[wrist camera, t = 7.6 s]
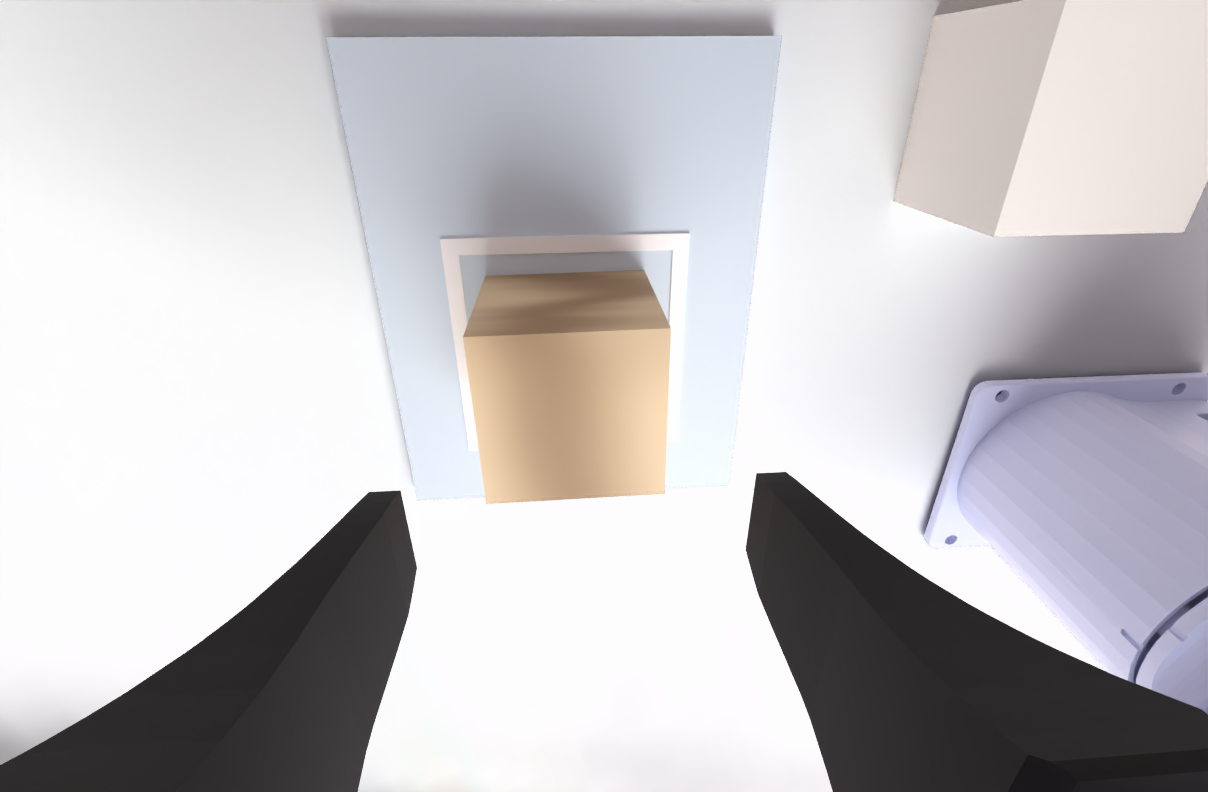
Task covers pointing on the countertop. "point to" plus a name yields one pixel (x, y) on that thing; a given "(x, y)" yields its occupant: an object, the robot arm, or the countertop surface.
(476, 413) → the base cube
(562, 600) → the countertop surface
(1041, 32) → the top cube
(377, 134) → the board
